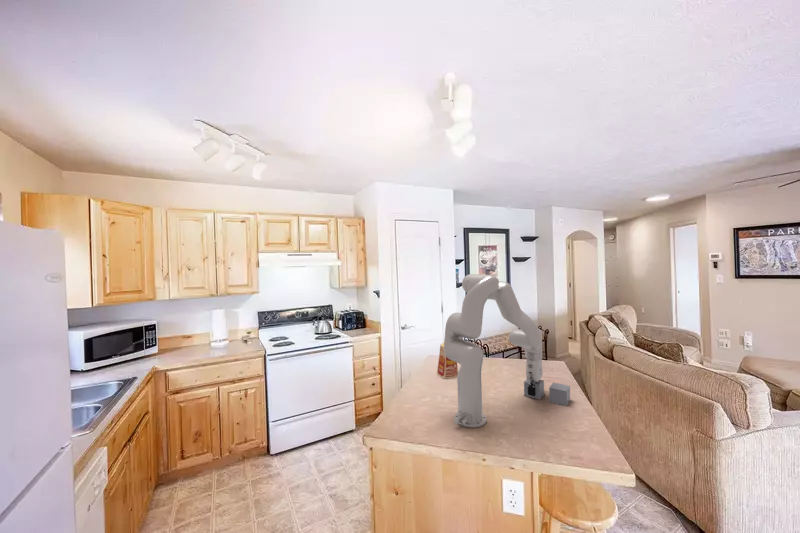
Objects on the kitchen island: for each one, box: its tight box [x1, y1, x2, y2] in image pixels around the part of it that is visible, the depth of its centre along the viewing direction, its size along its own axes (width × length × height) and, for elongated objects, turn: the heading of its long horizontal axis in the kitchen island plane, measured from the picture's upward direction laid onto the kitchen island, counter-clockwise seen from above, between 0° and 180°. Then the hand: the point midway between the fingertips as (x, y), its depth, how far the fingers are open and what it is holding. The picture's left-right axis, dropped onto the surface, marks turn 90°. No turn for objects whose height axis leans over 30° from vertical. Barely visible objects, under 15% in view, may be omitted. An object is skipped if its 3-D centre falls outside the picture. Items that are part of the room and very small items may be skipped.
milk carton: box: [436, 341, 459, 380], centre depth 178 cm, size 9×9×20 cm
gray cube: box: [523, 378, 545, 400], centre depth 150 cm, size 7×7×6 cm
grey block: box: [548, 382, 571, 407], centre depth 143 cm, size 7×7×6 cm
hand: (534, 392), depth 150 cm, fingers closed on gray cube, 7 cm apart
